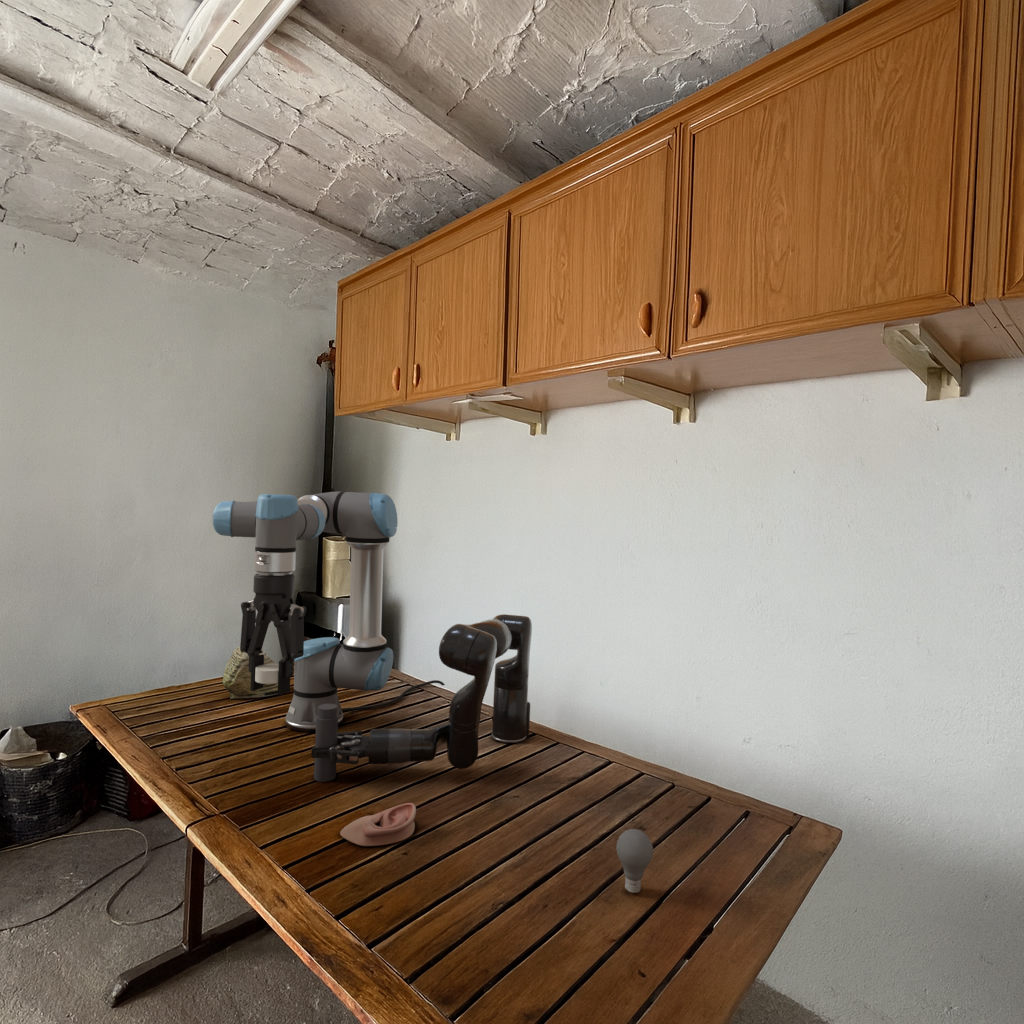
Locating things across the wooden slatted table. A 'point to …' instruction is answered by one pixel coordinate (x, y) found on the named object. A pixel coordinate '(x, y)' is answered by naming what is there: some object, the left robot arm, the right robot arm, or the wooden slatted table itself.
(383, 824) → the anatomical model
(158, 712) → the wooden slatted table surface
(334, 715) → the gray bottle
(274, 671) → the lid
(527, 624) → the right robot arm
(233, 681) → the fossil
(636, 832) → the light bulb
